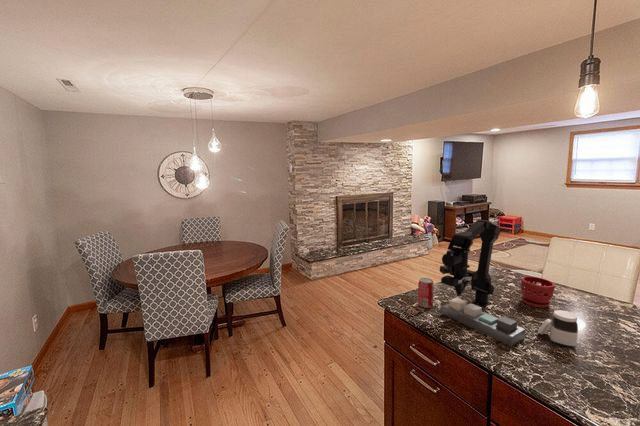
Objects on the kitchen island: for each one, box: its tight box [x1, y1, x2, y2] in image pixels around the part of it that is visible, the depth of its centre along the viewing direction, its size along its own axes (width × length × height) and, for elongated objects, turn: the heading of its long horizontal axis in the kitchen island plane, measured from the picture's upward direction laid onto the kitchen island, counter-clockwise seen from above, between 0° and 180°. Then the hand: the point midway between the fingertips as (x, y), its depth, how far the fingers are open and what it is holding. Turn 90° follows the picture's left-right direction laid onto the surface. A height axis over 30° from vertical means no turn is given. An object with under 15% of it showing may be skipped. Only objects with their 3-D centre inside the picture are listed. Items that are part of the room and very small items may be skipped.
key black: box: [497, 315, 518, 333], centre depth 117 cm, size 5×5×4 cm
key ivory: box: [449, 297, 468, 311], centre depth 134 cm, size 5×5×4 cm
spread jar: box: [537, 309, 579, 349], centre depth 114 cm, size 12×11×12 cm
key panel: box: [441, 302, 526, 348], centre depth 126 cm, size 10×30×4 cm, turn 32°
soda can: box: [417, 277, 435, 309], centre depth 144 cm, size 7×7×13 cm
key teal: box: [479, 313, 499, 325], centre depth 123 cm, size 5×5×4 cm
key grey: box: [464, 302, 483, 318], centre depth 128 cm, size 5×5×4 cm
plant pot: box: [520, 276, 556, 309], centre depth 145 cm, size 13×13×12 cm
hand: (458, 295), depth 134 cm, fingers closed
